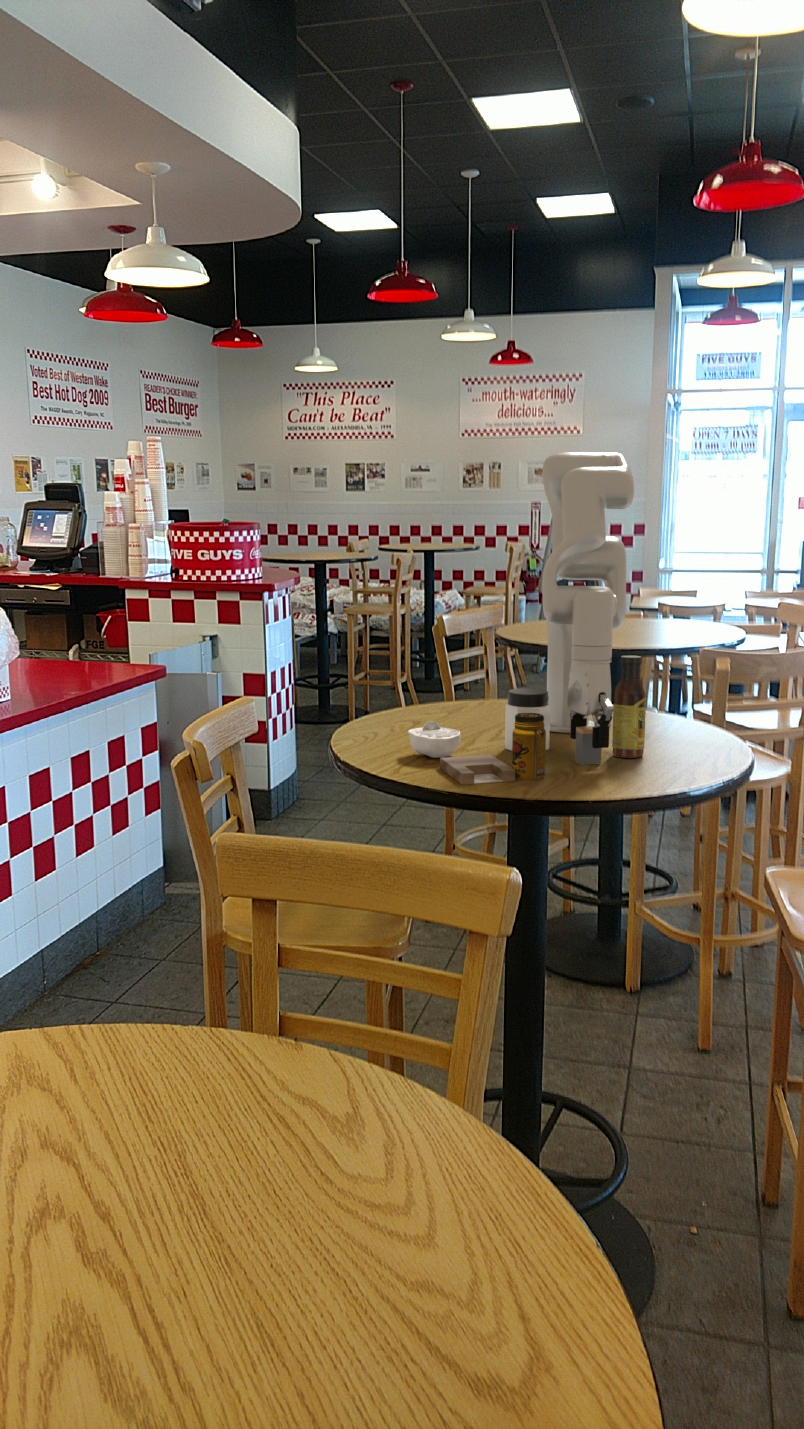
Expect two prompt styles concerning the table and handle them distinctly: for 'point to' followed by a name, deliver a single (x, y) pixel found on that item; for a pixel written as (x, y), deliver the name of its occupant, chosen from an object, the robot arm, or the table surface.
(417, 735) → the cell model
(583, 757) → the grey and orange block
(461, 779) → the notched board
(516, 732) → the condiment
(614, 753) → the sauce bottle
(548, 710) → the jar
